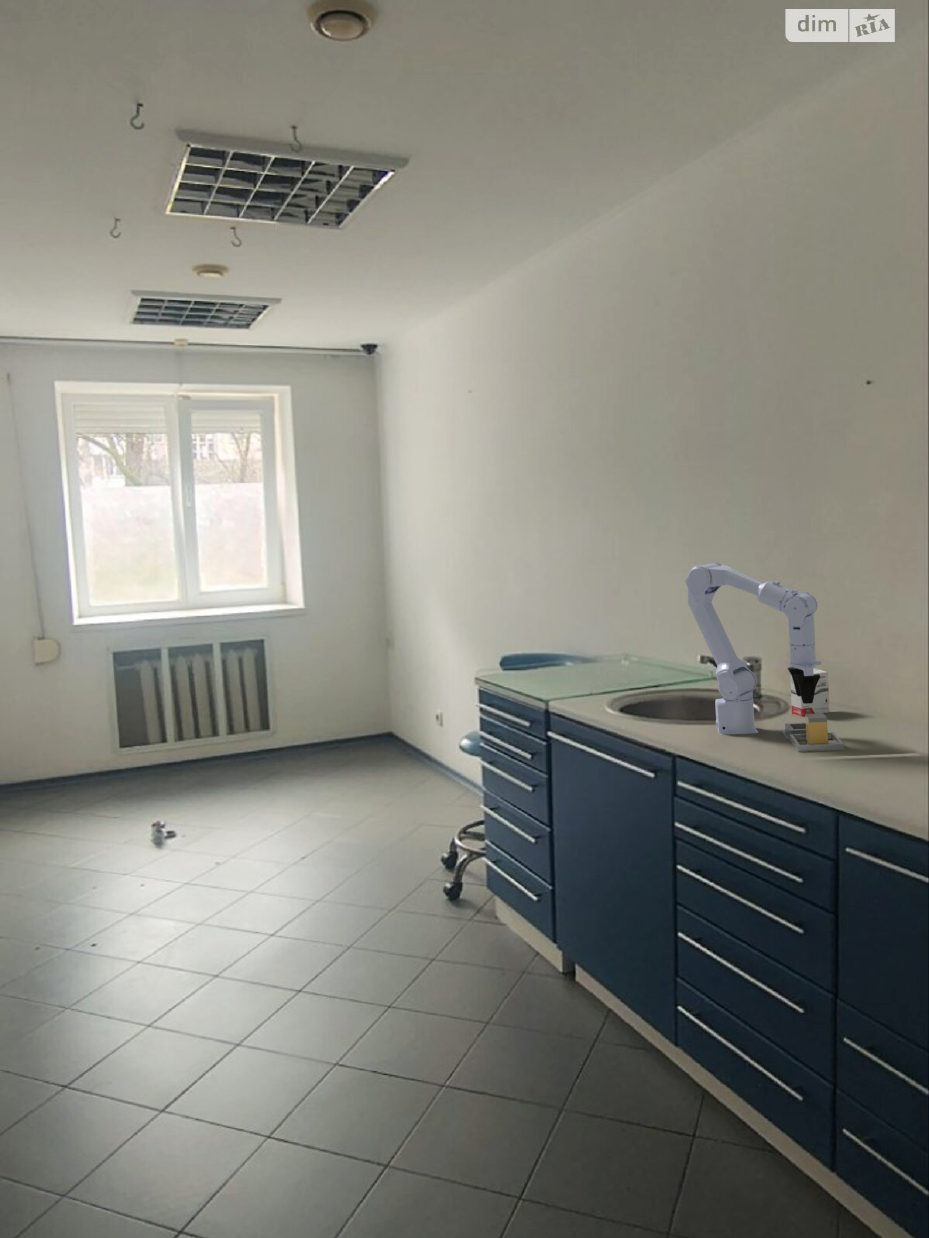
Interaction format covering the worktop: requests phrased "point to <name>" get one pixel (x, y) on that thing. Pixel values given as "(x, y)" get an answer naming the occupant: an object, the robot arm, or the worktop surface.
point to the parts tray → (816, 747)
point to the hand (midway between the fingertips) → (804, 699)
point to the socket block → (794, 729)
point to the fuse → (816, 729)
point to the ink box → (819, 700)
